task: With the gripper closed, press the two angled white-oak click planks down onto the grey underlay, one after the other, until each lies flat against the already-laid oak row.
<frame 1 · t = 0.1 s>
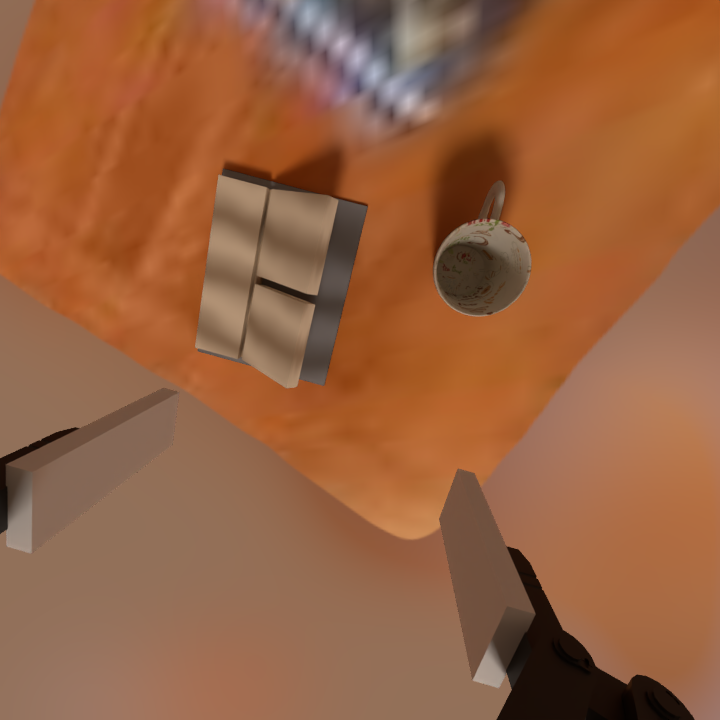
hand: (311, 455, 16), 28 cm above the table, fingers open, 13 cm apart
plank 1: (293, 241, 37), point 4 cm above the table, hinge at 35.0°
laid row: (265, 280, 42), on the table
plank 2: (275, 334, 39), point 4 cm above the table, hinge at 35.0°
mug: (464, 252, 39), on the table
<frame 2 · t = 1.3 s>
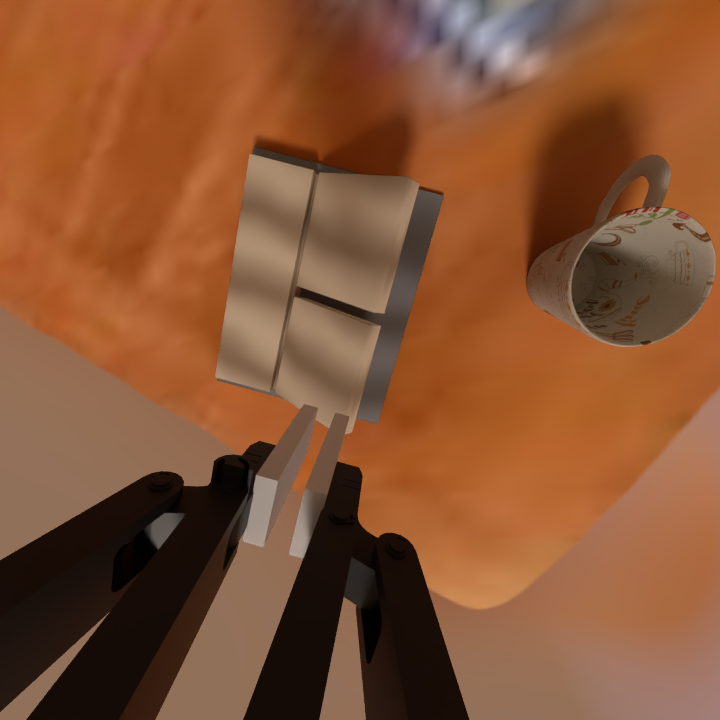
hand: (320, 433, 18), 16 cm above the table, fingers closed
plank 1: (350, 241, 28), point 4 cm above the table, hinge at 35.0°
laid row: (305, 292, 33), on the table
plank 2: (322, 362, 30), point 4 cm above the table, hinge at 35.0°
mug: (568, 255, 30), on the table
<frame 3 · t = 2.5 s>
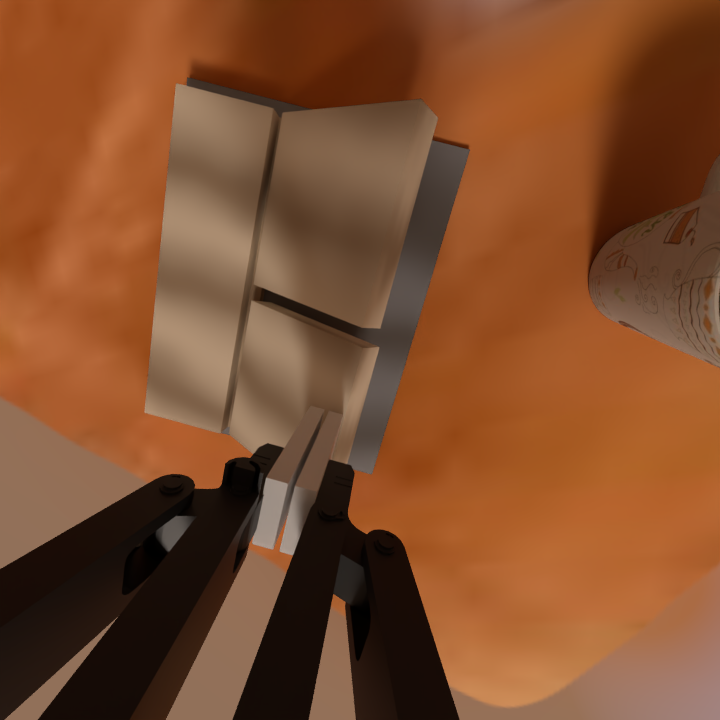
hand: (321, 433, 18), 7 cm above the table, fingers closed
plank 1: (329, 215, 18), point 4 cm above the table, hinge at 35.0°
laid row: (270, 293, 23), on the table
plank 2: (293, 396, 21), point 4 cm above the table, hinge at 32.4°, touching gripper
mug: (651, 239, 20), on the table
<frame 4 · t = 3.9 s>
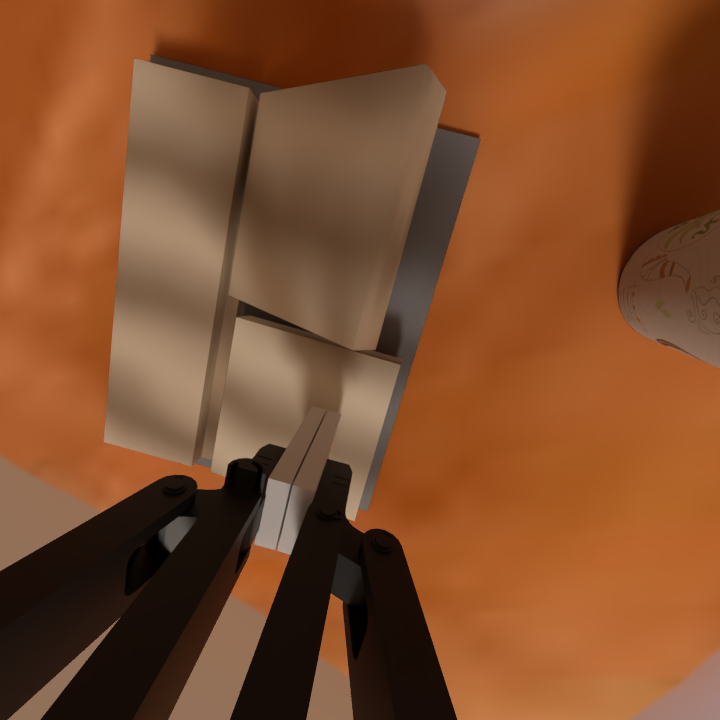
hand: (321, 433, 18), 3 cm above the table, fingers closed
plank 1: (314, 214, 15), point 4 cm above the table, hinge at 35.0°
laid row: (249, 304, 20), on the table
plank 2: (301, 417, 19), point 2 cm above the table, hinge at 5.0°
mug: (691, 243, 18), on the table
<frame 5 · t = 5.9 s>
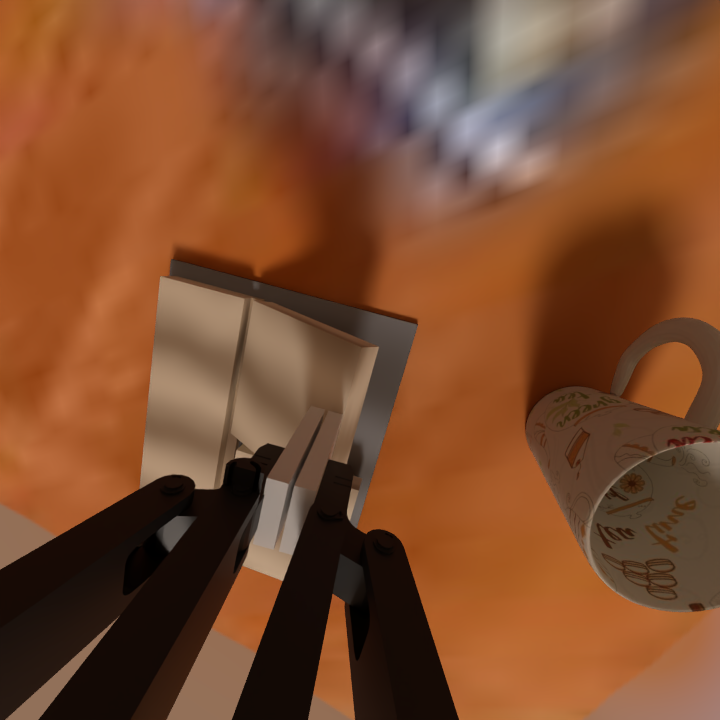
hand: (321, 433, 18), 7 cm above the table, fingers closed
plank 1: (293, 396, 21), point 4 cm above the table, hinge at 33.6°, touching gripper
laid row: (246, 430, 26), on the table
plank 2: (287, 518, 25), point 2 cm above the table, hinge at 5.0°
mug: (579, 397, 23), on the table
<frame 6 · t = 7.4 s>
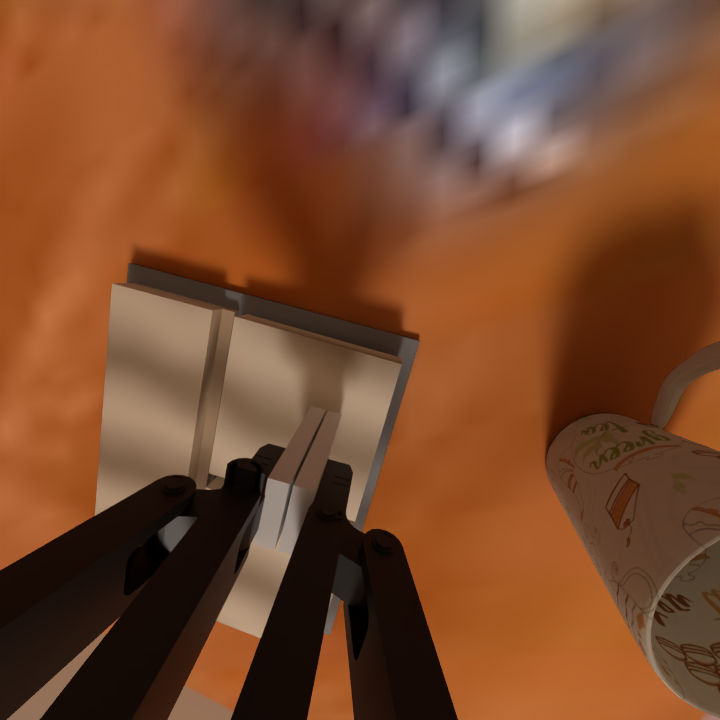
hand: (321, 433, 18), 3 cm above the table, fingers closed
plank 1: (301, 418, 19), point 2 cm above the table, hinge at 4.2°
laid row: (220, 461, 22), on the table
plank 2: (266, 566, 22), point 2 cm above the table, hinge at 5.0°
mug: (609, 426, 20), on the table
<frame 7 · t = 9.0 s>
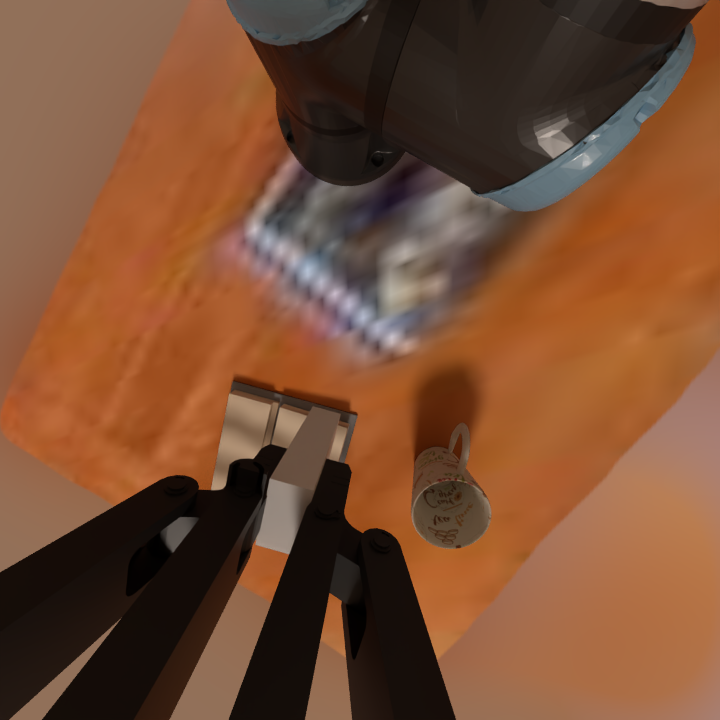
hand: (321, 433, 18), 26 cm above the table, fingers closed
plank 1: (306, 448, 45), point 2 cm above the table, hinge at 4.2°
laid row: (267, 467, 47), on the table
plank 2: (289, 516, 47), point 2 cm above the table, hinge at 5.0°
mug: (440, 452, 46), on the table
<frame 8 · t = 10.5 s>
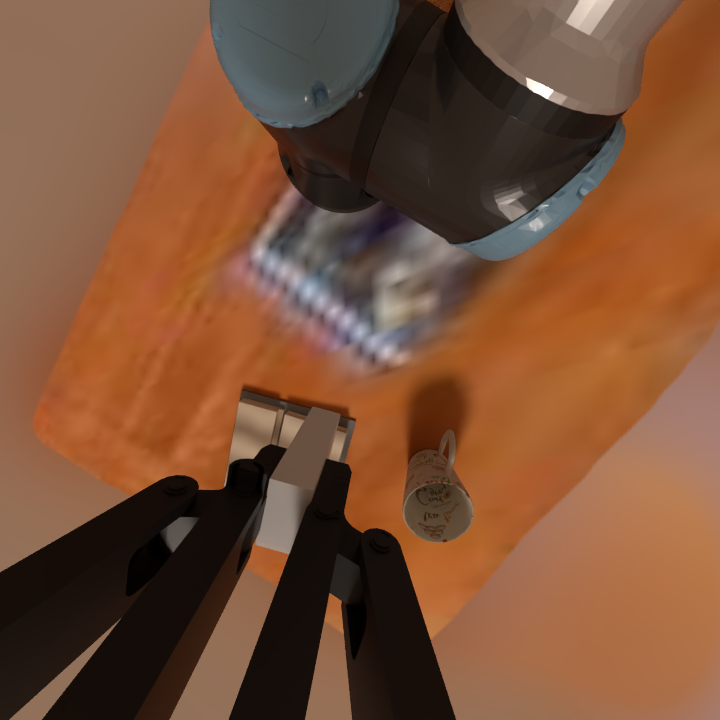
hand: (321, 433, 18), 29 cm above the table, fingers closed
plank 1: (309, 451, 49), point 2 cm above the table, hinge at 4.2°
laid row: (274, 467, 52), on the table
mug: (432, 454, 50), on the table
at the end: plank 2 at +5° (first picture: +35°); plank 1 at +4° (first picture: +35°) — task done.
